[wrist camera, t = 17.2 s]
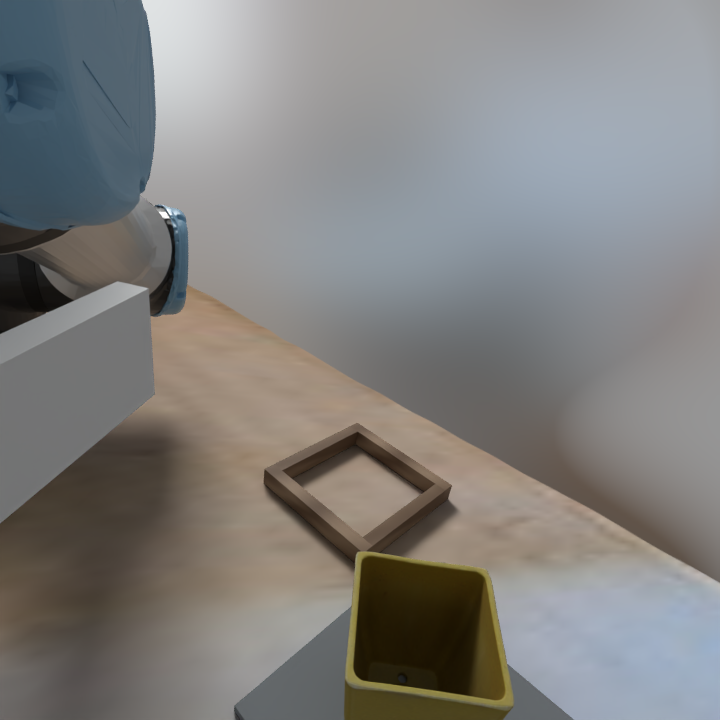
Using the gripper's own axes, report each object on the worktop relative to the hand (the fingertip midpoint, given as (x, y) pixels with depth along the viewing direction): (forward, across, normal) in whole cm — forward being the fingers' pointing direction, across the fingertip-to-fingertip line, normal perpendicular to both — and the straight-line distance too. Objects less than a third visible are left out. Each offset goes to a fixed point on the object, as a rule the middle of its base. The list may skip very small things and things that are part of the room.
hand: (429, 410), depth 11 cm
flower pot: (+11, +3, -30) cm, 32 cm away
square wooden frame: (+31, -5, -30) cm, 43 cm away
